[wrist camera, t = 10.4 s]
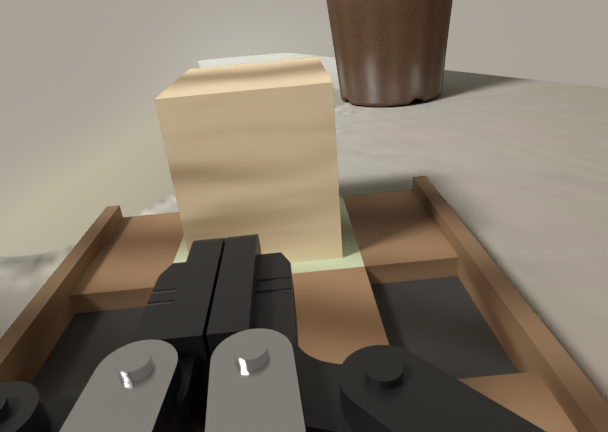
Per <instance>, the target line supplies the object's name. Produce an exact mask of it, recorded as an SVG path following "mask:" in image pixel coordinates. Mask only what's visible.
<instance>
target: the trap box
mask: <svg viewBox="0 0 608 432" xmlns="http://www.w3.org/2000/svg"><path fill="white" fill-rule="evenodd" d="M339 201H340V219H341V237H342V255H343V258H337V259H326V260H316V261H306V262H296V263H291V270H292V279H293V288H294V296H295V305H296V313H297V328H298V345H299V347H300V348H301V349H302V350H303V351H304V352H305V353H306V354H308V355H309V356H311V357H313V358H315V359H318V360H321V361H325V362H330V363H336V364H342V363H343V362H344V361H345V359H346V358H347V357H348V356H349V355H350V354H352V353H353V352H355V351H357V350H359V349H361V348H364V347H368V346H373V345H391V346H396V347H400V348H403V349H406V350H408V351H410V352H412V353H413V354H415V355H417V356H419V357H420V358H422V359H424V360H425V361H427V362H429V363H430V364H432V365H434V366H436V367H437V368H439V369H441V370H442V371H444V372H446V373H447V374H449V375H451V376H453V377H454V378H456V379H458V380H459V381H461V382H463V383H464V384H466V385H468V386H470V387H471V388H473V389H475V390H476V391H478V392H480V393H482V394H483V395H485V396H487V397H488V398H490V399H492V400H493V401H495V402H497V403H499V404H500V405H502V406H504V407H505V408H507V409H509V410H510V411H512V412H514V413H516V414H517V415H519V416H521V417H522V418H524V419H526V420H527V421H529V422H531V423H533V424H534V425H536V426H538V427H539V428H541V429H543V430H544V431H546V432H608V403H607V402H606V401H605V399H604V398H603V397H602V396H601V394H600V393H599V392H598V391H597V389H596V388H595V387H594V386H593V384H592V383H591V382H590V381H589V379H588V378H587V377H586V376H585V374H584V373H583V372H582V371H581V369H580V368H579V367H578V366H577V364H576V363H575V362H574V361H573V359H572V358H571V357H570V356H569V354H568V353H567V352H566V351H565V349H564V348H563V347H562V346H561V344H560V343H559V342H558V341H557V339H556V338H555V337H554V336H553V334H552V333H551V332H550V331H549V329H548V328H547V327H546V326H545V324H544V323H543V322H542V321H541V319H540V318H539V317H538V316H537V314H536V313H535V312H534V311H533V310H532V308H531V307H530V306H529V305H528V303H527V302H526V301H525V300H524V298H523V297H522V296H521V295H520V293H519V292H518V291H517V290H516V288H515V287H514V286H513V285H512V283H511V282H510V281H509V280H508V278H507V277H506V276H505V275H504V273H503V272H502V271H501V270H500V268H499V267H498V266H497V265H496V263H495V262H494V261H493V260H492V258H491V257H490V256H489V255H488V253H487V252H486V251H485V250H484V248H483V247H482V246H481V245H480V243H479V242H478V241H477V240H476V238H475V237H474V236H473V235H472V233H471V232H470V231H469V230H468V228H467V227H466V226H465V225H464V223H463V222H462V221H461V220H460V218H459V217H458V216H457V215H456V214H455V212H454V211H453V210H452V209H451V207H450V206H449V205H448V204H447V202H446V201H445V200H444V199H443V197H442V196H441V195H440V194H439V192H438V191H437V190H436V189H435V187H434V186H433V185H432V184H431V182H430V181H429V180H428V179H427V177H426V176H420V177H413V190H403V191H392V192H382V193H372V194H361V195H351V196H341V197H339ZM188 255H189V254H188V249H187V245H186V240H185V236H184V231H183V227H182V222H181V218H180V213H179V212H176V213H165V214H155V215H145V216H134V217H125V218H123V216H122V213H121V209H120V206H109V207H106V208H105V210H104V211H103V212H102V213H101V215H100V216H99V217H98V218H97V220H96V221H95V222H94V223H93V224H92V226H91V227H90V228H89V229H88V231H87V232H86V233H85V235H84V236H83V237H82V238H81V240H80V241H79V242H78V243H77V244H76V246H75V247H74V248H73V249H72V251H71V252H70V253H69V254H68V256H67V257H66V258H65V259H64V261H63V262H62V263H61V264H60V266H59V267H58V268H57V269H56V271H55V272H54V273H53V274H52V276H51V277H50V278H49V279H48V280H47V282H46V283H45V284H44V285H43V287H42V288H41V289H40V290H39V292H38V293H37V294H36V295H35V297H34V298H33V299H32V300H31V302H30V303H29V304H28V305H27V307H26V308H25V309H24V310H23V312H22V313H21V314H20V315H19V317H18V318H17V319H16V320H15V322H14V323H13V324H12V325H11V327H10V328H9V329H8V330H7V332H6V333H5V334H4V335H3V336H2V338H1V339H0V384H1V383H6V382H13V381H22V382H27V383H30V384H32V385H34V386H35V387H36V388H37V390H38V392H39V395H40V397H41V399H42V401H44V400H46V399H49V398H52V397H55V396H58V395H61V394H64V393H67V392H70V391H73V390H76V389H79V388H82V387H84V386H86V385H87V383H88V381H89V380H90V378H91V376H92V375H93V373H94V371H95V369H96V368H97V367H98V365H99V364H100V363H101V362H102V361H103V359H105V358H106V357H107V356H108V355H109V354H111V353H112V352H114V351H115V350H117V349H119V348H121V347H123V346H125V345H127V344H130V343H131V340H132V338H133V336H134V333H135V331H136V328H137V326H138V324H139V321H140V319H141V317H142V314H143V312H144V310H145V307H146V306H148V303H147V302H148V300H149V298H150V295H151V294H152V293H153V288H154V286H155V284H156V281H157V279H158V276H160V275H161V274H162V273H163V272H164V271H165V270H166V269H167V268H168V267H169V266H170V265H171V264H172V263H180V262H186V260H187V257H188Z"/></svg>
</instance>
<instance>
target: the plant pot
mask: <svg viewBox="0 0 608 432" xmlns="http://www.w3.org/2000/svg"><path fill="white" fill-rule="evenodd" d="M327 6H328V12H329V19H330V26H331V32H332V39H333V45H334V51H335V58H336V65H337V72H338V78H339V85H340V92H341V99H342V100H343V101H349V102H350V103H351V104H353V105H362V106H367V107H388V106H395V105H405V104H410V103H411V102H412V101H413V100H414V99H418V100H421V101H426V100H430V99H432V98H435V97H437V96H438V95H439V94H440V93H441V91H442V85H443V75H444V65H445V56H446V48H447V39H448V31H449V23H450V15H451V8H452V0H327Z"/></svg>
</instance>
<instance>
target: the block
mask: <svg viewBox="0 0 608 432" xmlns="http://www.w3.org/2000/svg"><path fill="white" fill-rule="evenodd" d="M154 100H155V105H156V109H157V113H158V118H159V123H160V127H161V131H162V136H163V141H164V145H165V149H166V154H167V159H168V163H169V168H170V172H171V177H172V182H173V186H174V190H175V195H176V200H177V204H178V209H179V213H180V218H181V222H182V227H183V231H184V236H185V240H186V245H187V249H188V254H189V252H190V249H191V246H192V243H193V241H195V240H204V239H214V238H224V237H225V238H227V237H233V236H243V235H253V234H258V236H259V241H260V247H261V254H268V253H278V252H281V253H282V254H283V255H284V256H285V257H286V258H287V259H288V260H289V262H290V263H296V262H306V261H316V260H326V259H337V258H343V255H342V237H341V219H340V201H339V183H338V165H337V147H336V129H335V112H334V94H333V82H332V80H331V78H330V77H329V75H328V73H327V72H326V70H325V68H324V67H323V65H322V63H321V62H320V60H319V58H318V57H312V58H301V59H291V60H280V61H270V62H259V63H248V64H238V65H227V66H217V67H206V68H195V69H189V70H188V71H187V72H186V73H184V74H183V75H182V76H181V77H180V78H179V79H178V80H176V81H175V82H174V83H173V84H172V85H170V86H169V87H168V88H167V89H166V90H165V91H163V92H162V93H161V94H160V95H159V96H158V97H156V98H155V99H154Z"/></svg>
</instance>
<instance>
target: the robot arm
mask: <svg viewBox="0 0 608 432" xmlns="http://www.w3.org/2000/svg"><path fill="white" fill-rule="evenodd" d="M147 303H148V306H146V307H145V310H144V312H143V314H142V317H141V319H140V321H139V324H138V326H137V328H136V331H135V333H134V336H133V338H132V340H131V343H130V344H127V345H125V346H123V347H121V348H119V349H117V350H115V351H114V352H112V353H111V354H109V355H108V356H107V357H106V358H105V359H103V361H102V362H101V363H100V364H99V365H98V367H97V368H96V369H95V371H94V373H93V375H92V376H91V378H90V380H89V381H88V383H87V385H86V386H84V387H82V388H79V389H76V390H73V391H70V392H67V393H64V394H61V395H58V396H55V397H52V398H49V399H46V400H44V401H42V399H41V397H40V395H39V392H38V390H37V388H36V387H35V386H34V385H32V384H30V383H27V382H22V381H13V382H6V383H1V384H0V432H546V431H544V430H543V429H541V428H539V427H538V426H536V425H534V424H533V423H531V422H529V421H527V420H526V419H524V418H522V417H521V416H519V415H517V414H516V413H514V412H512V411H510V410H509V409H507V408H505V407H504V406H502V405H500V404H499V403H497V402H495V401H493V400H492V399H490V398H488V397H487V396H485V395H483V394H482V393H480V392H478V391H476V390H475V389H473V388H471V387H470V386H468V385H466V384H464V383H463V382H461V381H459V380H458V379H456V378H454V377H453V376H451V375H449V374H447V373H446V372H444V371H442V370H441V369H439V368H437V367H436V366H434V365H432V364H430V363H429V362H427V361H425V360H424V359H422V358H420V357H419V356H417V355H415V354H413V353H412V352H410V351H408V350H406V349H403V348H400V347H396V346H391V345H373V346H368V347H364V348H361V349H359V350H357V351H355V352H353V353H352V354H350V355H349V356H348V357H347V358H346V359H345V361H344V362H343V363H342V364H336V363H330V362H325V361H321V360H318V359H315V358H313V357H311V356H309V355H308V354H306V353H305V352H304V351H303V350H302V349H301V348H300V347H299V345H298V328H297V313H296V305H295V296H294V288H293V279H292V270H291V263H290V262H289V260H288V259H287V258H286V257H285V256H284V255H283V254H282V253H281V252H278V253H268V254H261V247H260V241H259V236H258V234H253V235H243V236H233V237H227V238H225V237H224V238H214V239H204V240H195V241H193V243H192V246H191V249H190V252H189V255H188V257H187V260H186V262H180V263H172V264H171V265H170V266H169V267H168V268H167V269H166V270H165V271H164V272H163V273H162V274H161V275H160V276H158V279H157V281H156V284H155V286H154V288H153V293H152V294H151V295H150V298H149V300H148V302H147Z"/></svg>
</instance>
